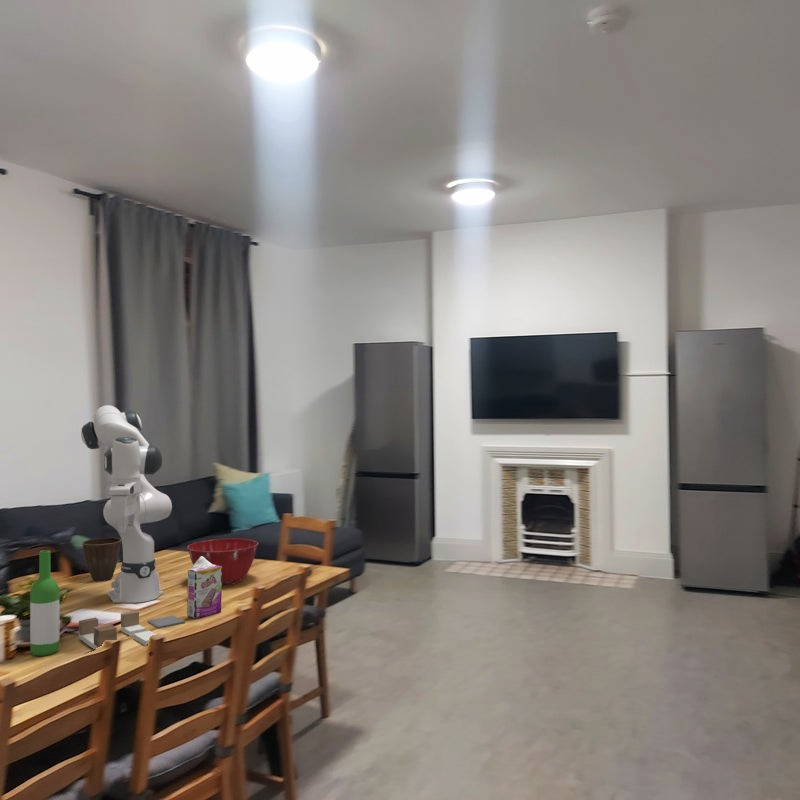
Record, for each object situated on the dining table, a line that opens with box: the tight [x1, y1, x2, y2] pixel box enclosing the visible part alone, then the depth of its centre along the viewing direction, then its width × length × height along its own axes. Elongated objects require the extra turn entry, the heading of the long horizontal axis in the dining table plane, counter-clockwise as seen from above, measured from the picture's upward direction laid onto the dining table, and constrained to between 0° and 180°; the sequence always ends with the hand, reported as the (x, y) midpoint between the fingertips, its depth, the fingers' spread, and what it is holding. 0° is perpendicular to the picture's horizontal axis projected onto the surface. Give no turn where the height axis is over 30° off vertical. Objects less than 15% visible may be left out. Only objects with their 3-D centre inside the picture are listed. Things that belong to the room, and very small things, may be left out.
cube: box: [94, 623, 118, 647], centre depth 218 cm, size 5×5×5 cm
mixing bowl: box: [186, 538, 259, 586], centre depth 300 cm, size 28×28×16 cm
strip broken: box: [120, 610, 157, 647], centre depth 231 cm, size 20×5×6 cm, turn 41°
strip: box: [78, 617, 99, 650], centre depth 222 cm, size 20×5×6 cm, turn 41°
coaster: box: [147, 615, 186, 629], centre depth 245 cm, size 9×9×1 cm
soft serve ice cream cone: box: [190, 556, 212, 569], centre depth 275 cm, size 8×8×16 cm
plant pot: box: [81, 537, 122, 582], centre depth 304 cm, size 15×15×16 cm
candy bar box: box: [186, 565, 223, 620], centre depth 254 cm, size 11×5×16 cm, turn 141°
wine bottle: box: [29, 549, 60, 657], centre depth 216 cm, size 8×8×30 cm
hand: (126, 529), depth 238 cm, fingers open, 8 cm apart
